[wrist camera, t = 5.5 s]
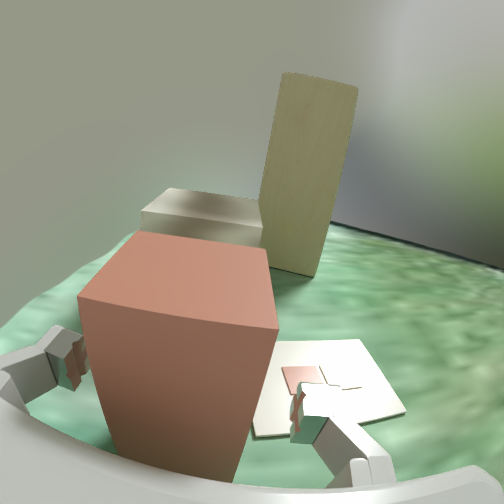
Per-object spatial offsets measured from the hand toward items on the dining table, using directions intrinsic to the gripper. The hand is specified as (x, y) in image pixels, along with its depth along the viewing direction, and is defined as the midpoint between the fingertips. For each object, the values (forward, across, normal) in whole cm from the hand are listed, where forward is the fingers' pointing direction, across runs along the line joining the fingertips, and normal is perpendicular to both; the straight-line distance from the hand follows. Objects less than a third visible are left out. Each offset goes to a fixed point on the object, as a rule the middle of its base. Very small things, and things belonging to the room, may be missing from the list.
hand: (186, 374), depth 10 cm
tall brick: (0, 0, +6) cm, 6 cm away
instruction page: (+6, -7, +6) cm, 11 cm away
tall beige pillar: (+26, -6, +6) cm, 27 cm away
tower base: (+14, +2, +6) cm, 16 cm away
